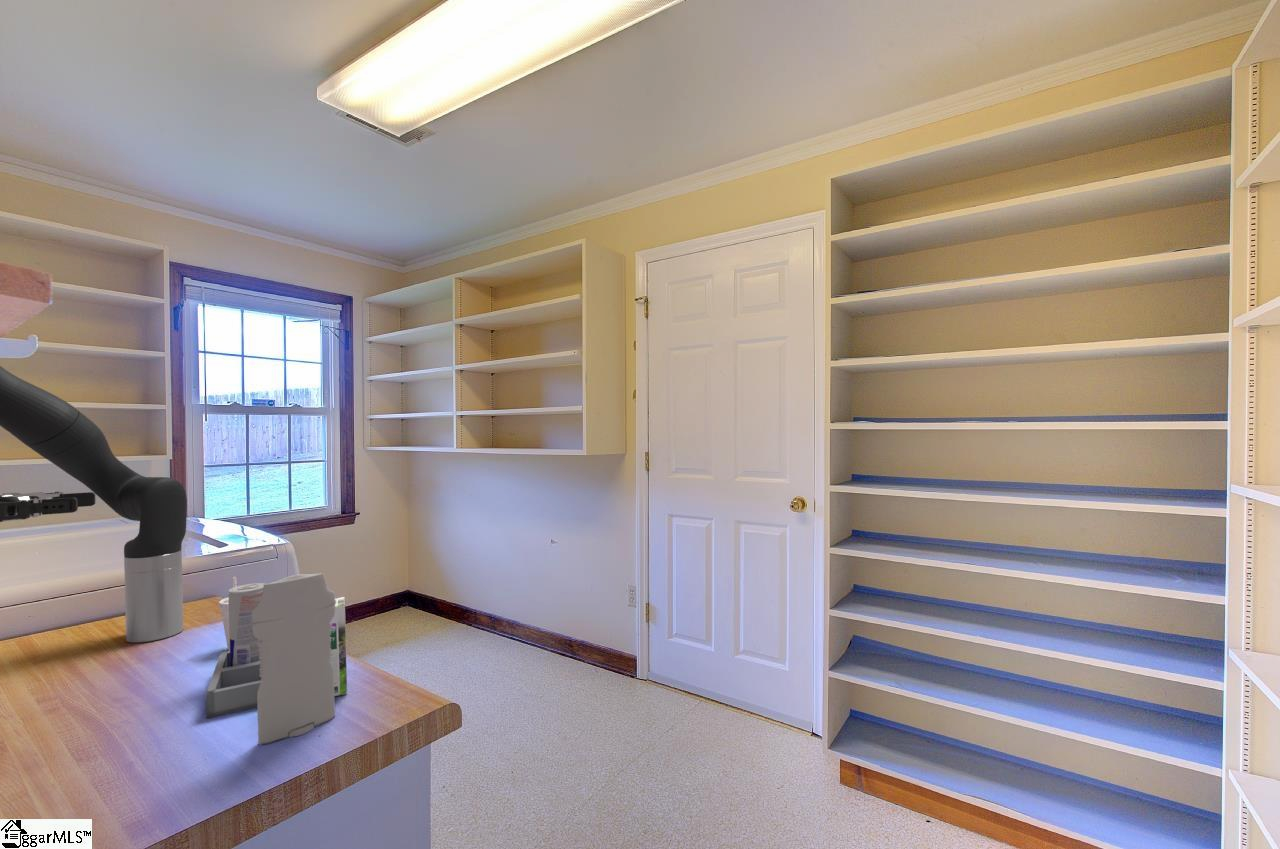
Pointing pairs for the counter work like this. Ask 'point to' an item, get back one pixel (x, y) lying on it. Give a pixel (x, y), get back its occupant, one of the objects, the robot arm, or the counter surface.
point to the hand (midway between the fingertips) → (86, 501)
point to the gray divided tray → (232, 687)
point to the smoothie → (226, 615)
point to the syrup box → (339, 648)
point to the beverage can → (243, 623)
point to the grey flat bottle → (294, 656)
